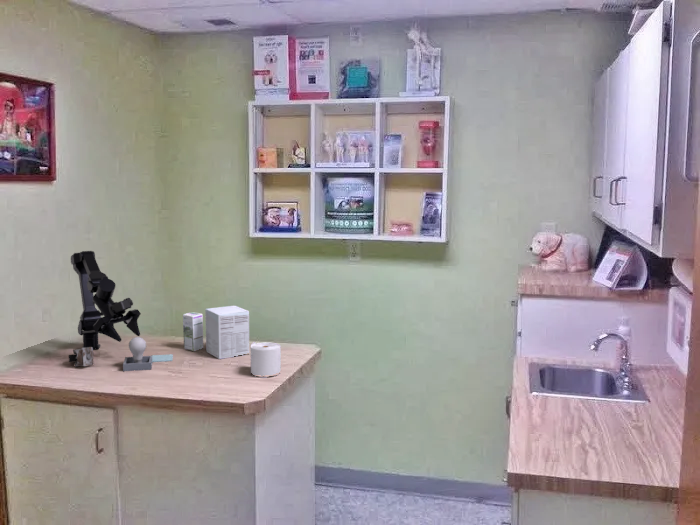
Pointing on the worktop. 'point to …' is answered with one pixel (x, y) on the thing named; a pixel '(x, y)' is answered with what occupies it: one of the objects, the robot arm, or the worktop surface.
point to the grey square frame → (137, 364)
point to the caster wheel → (82, 357)
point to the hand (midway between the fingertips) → (130, 338)
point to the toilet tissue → (265, 358)
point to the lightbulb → (137, 348)
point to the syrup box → (193, 331)
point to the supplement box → (227, 331)
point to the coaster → (162, 358)
